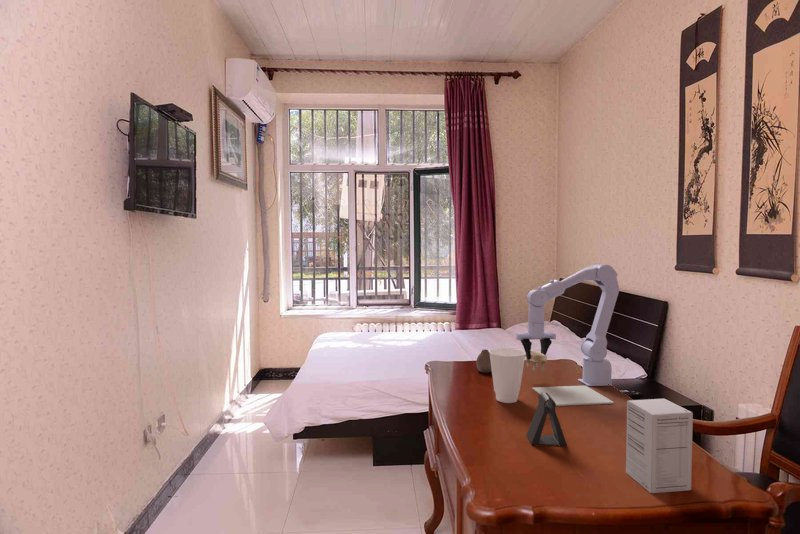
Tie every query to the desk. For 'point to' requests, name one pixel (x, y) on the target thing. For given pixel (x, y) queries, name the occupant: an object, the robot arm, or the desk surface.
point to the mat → (573, 395)
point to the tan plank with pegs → (536, 360)
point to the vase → (484, 362)
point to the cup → (507, 373)
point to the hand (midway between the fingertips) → (535, 358)
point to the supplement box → (659, 445)
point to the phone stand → (539, 419)
